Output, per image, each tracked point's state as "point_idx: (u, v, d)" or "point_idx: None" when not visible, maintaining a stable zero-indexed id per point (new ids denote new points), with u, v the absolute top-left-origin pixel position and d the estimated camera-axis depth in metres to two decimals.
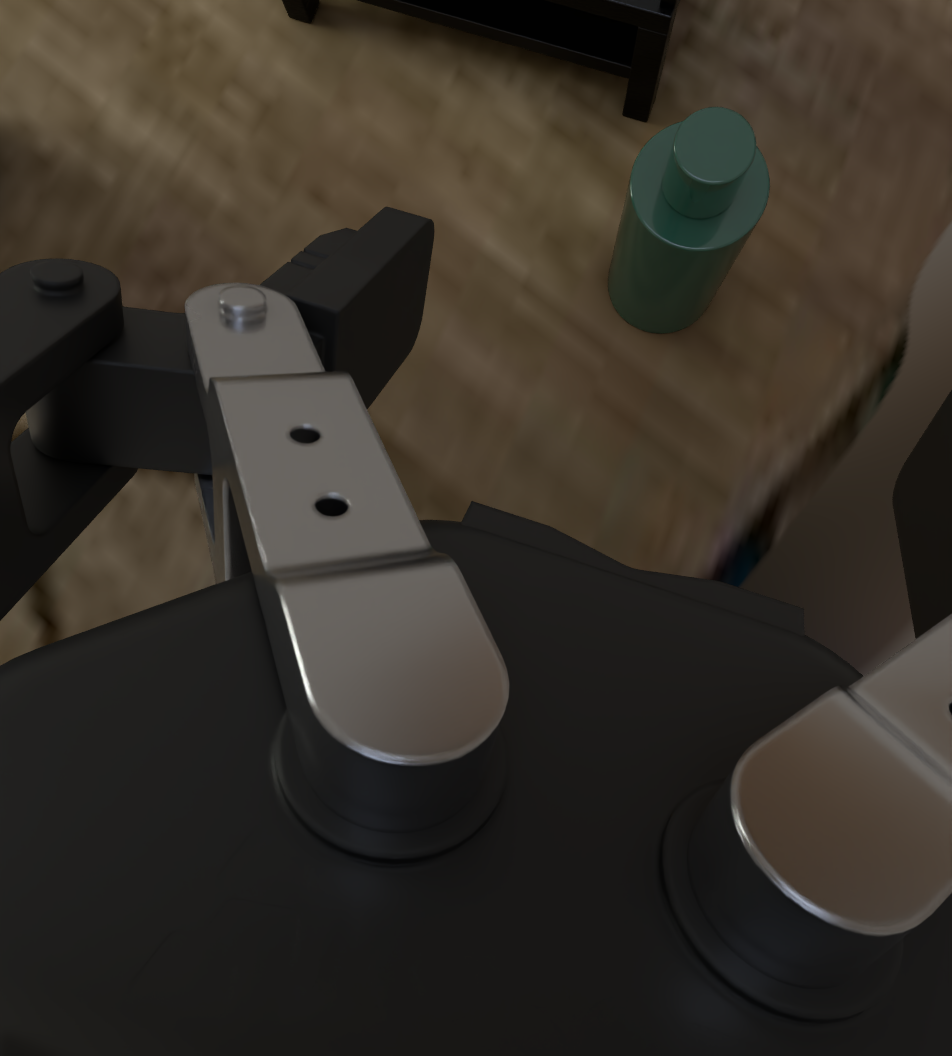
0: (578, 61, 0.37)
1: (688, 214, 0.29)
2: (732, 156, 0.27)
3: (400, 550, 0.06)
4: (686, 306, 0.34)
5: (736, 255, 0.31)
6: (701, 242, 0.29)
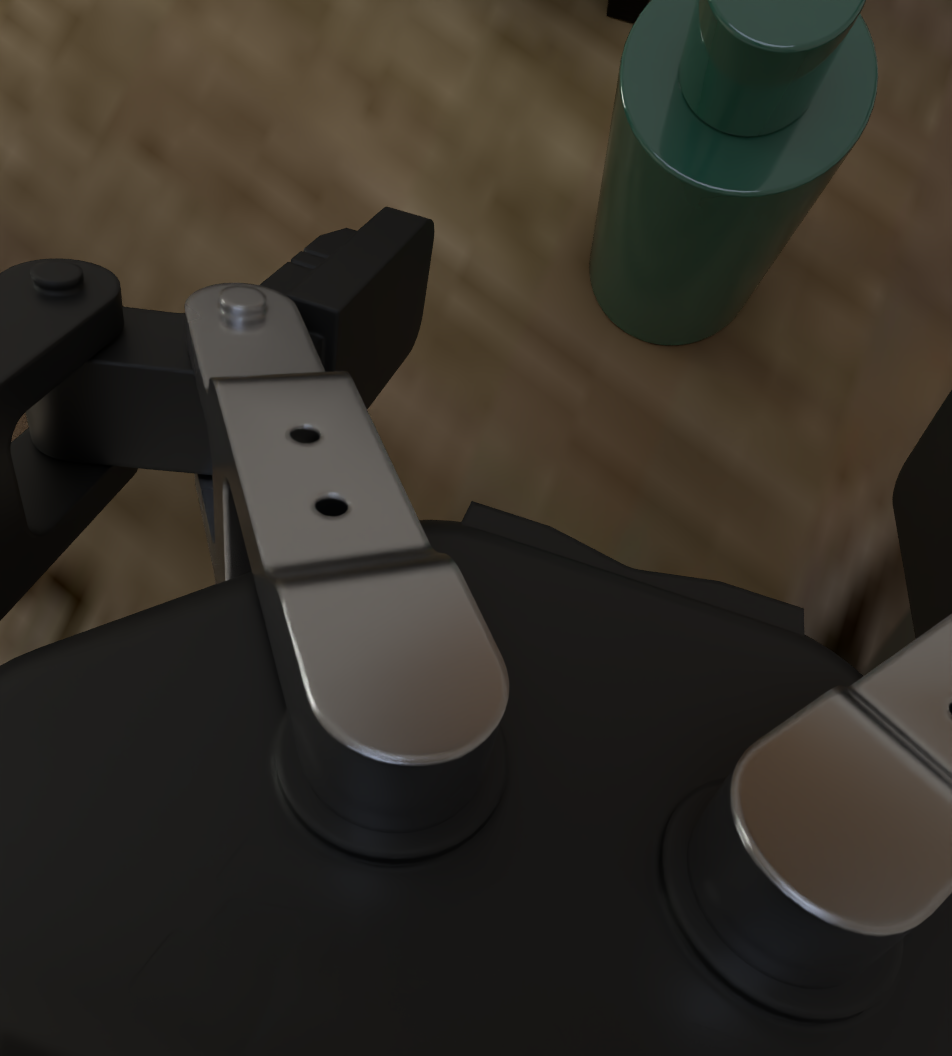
0: None
1: (729, 127, 0.15)
2: None
3: (402, 550, 0.06)
4: (716, 301, 0.21)
5: (808, 209, 0.18)
6: (755, 180, 0.16)
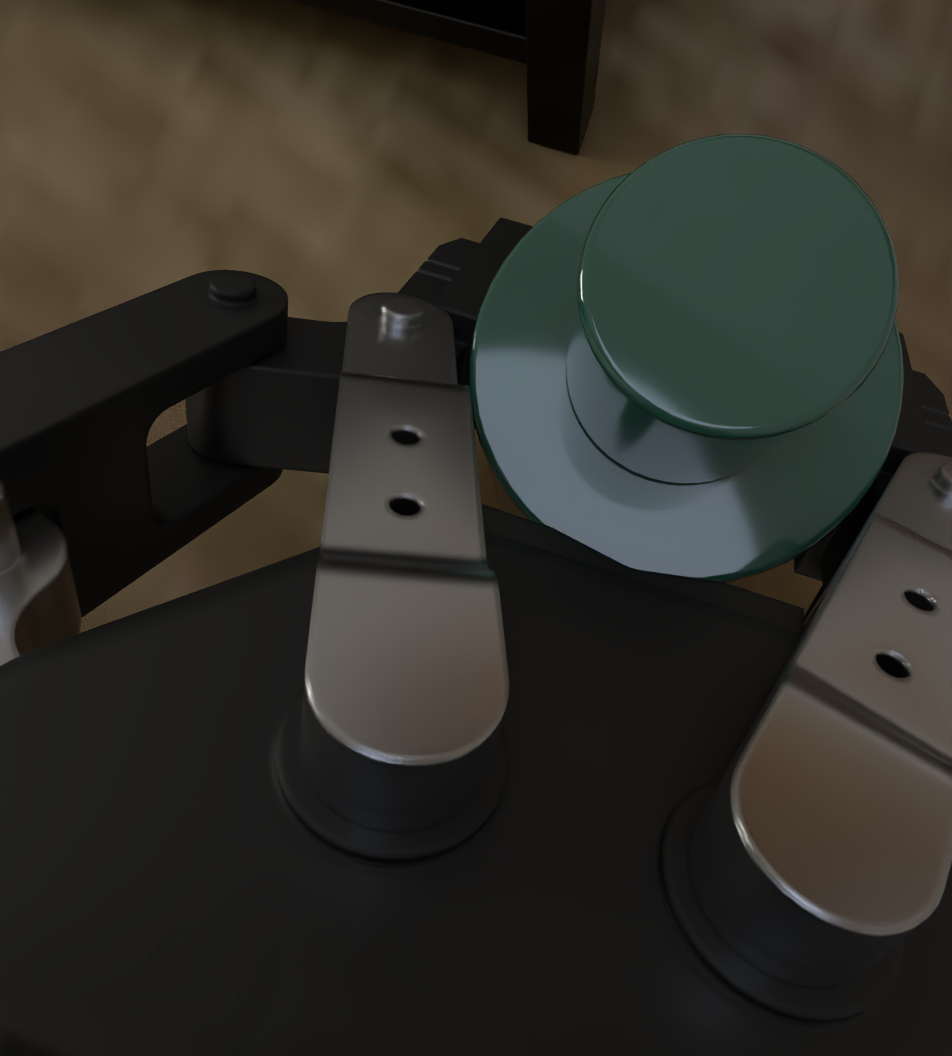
0: (424, 31, 0.17)
1: (648, 474, 0.09)
2: (804, 327, 0.07)
3: (456, 559, 0.06)
4: None
5: None
6: (693, 558, 0.09)
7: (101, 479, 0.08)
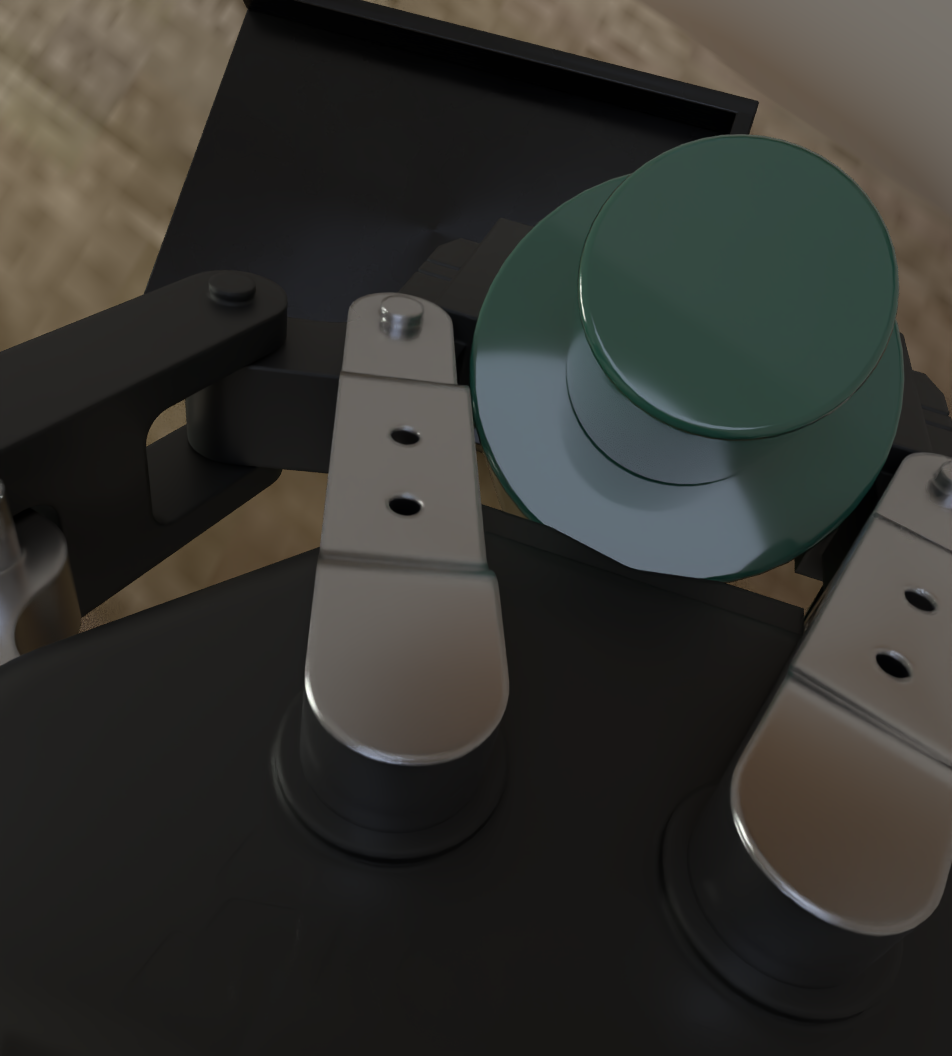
0: None
1: (648, 475, 0.09)
2: (804, 329, 0.07)
3: (455, 559, 0.06)
4: None
5: None
6: (693, 559, 0.09)
7: (100, 479, 0.08)
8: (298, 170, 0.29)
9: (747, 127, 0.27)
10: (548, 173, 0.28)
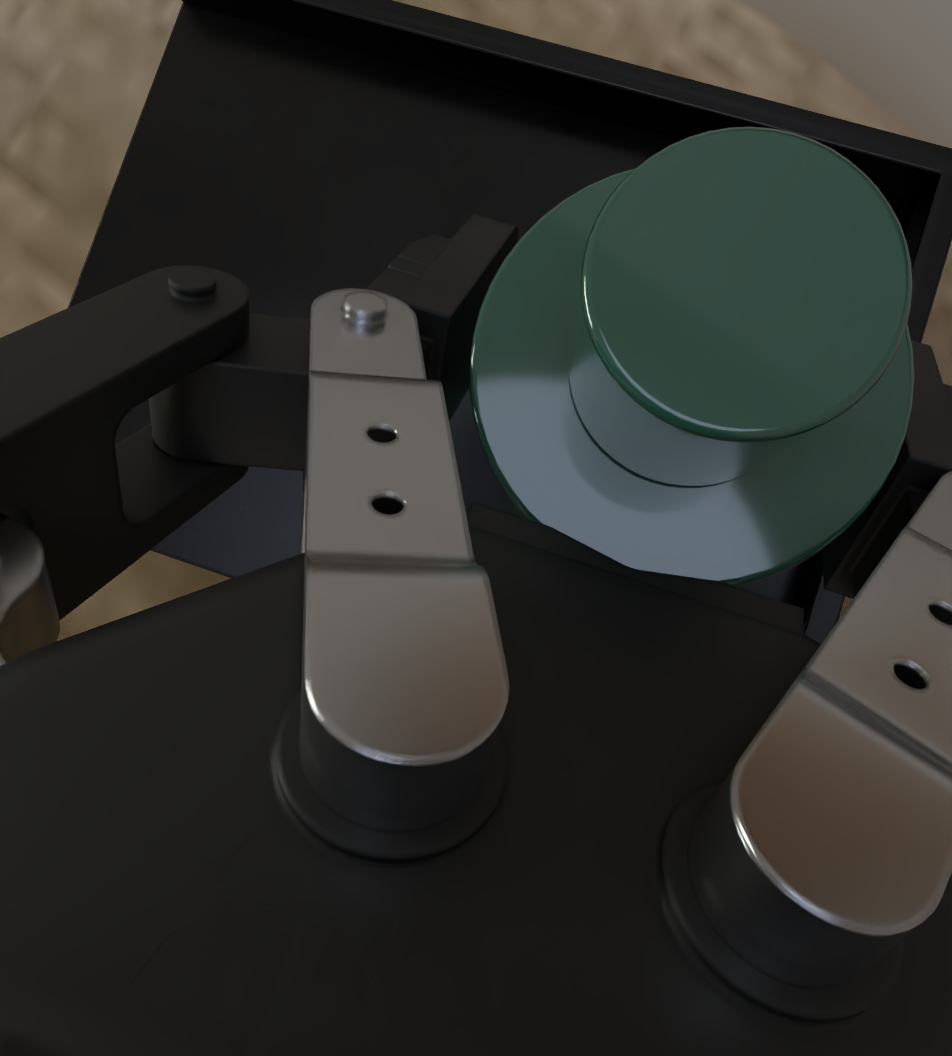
0: None
1: (653, 477, 0.09)
2: (815, 326, 0.07)
3: (442, 557, 0.06)
4: None
5: None
6: (698, 562, 0.09)
7: (71, 481, 0.08)
8: (256, 247, 0.19)
9: None
10: None
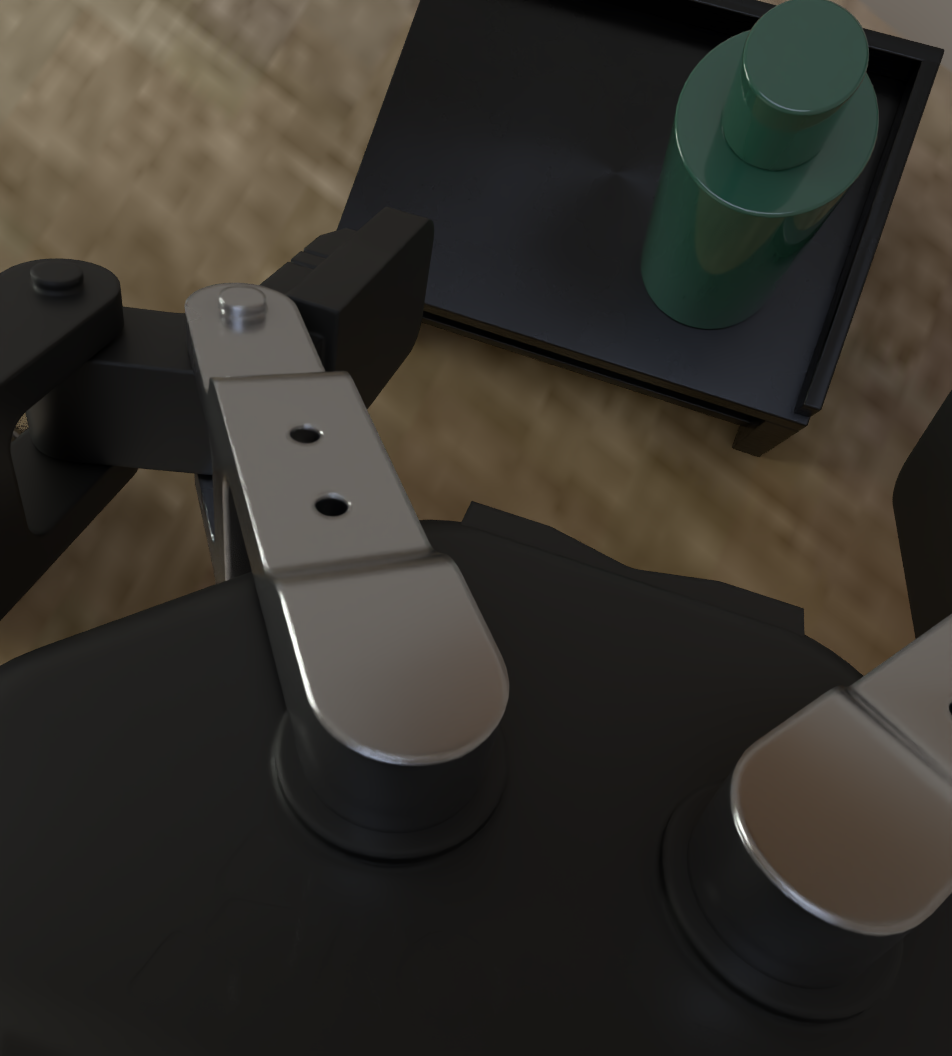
0: (687, 407, 0.34)
1: (760, 163, 0.20)
2: (831, 72, 0.18)
3: (400, 550, 0.06)
4: (748, 294, 0.26)
5: (823, 223, 0.22)
6: (778, 204, 0.20)
7: None
8: (485, 113, 0.30)
9: (932, 75, 0.28)
10: None
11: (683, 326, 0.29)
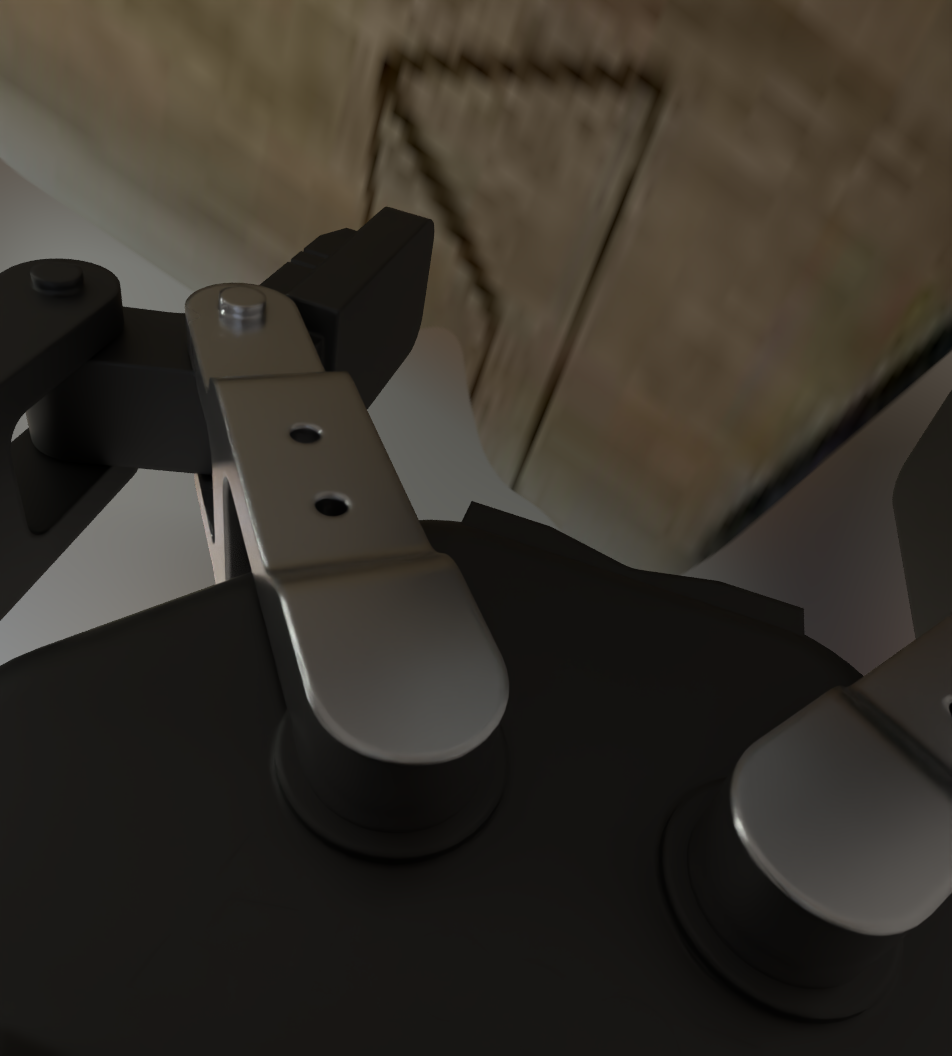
0: None
1: None
2: None
3: (402, 550, 0.06)
4: None
5: None
6: None
7: None
8: None
9: None
10: None
11: None
